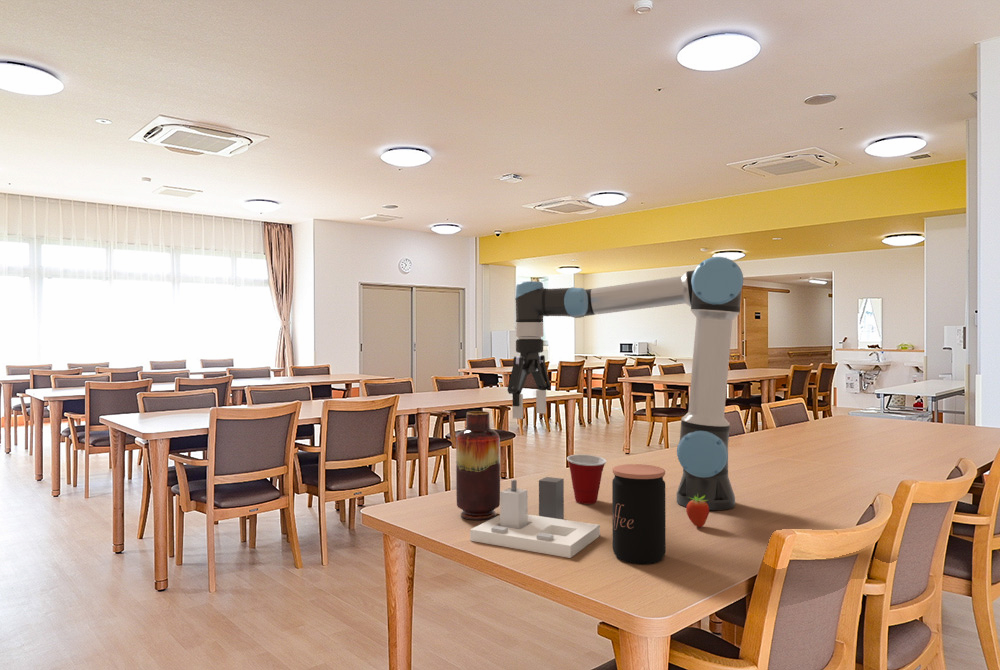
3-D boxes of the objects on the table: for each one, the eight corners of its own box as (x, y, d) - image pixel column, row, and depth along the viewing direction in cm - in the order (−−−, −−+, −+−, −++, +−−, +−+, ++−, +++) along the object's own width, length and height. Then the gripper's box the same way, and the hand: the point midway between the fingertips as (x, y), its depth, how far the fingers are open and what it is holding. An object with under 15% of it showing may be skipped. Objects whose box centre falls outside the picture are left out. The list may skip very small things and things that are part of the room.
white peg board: (599, 535, 150) (599, 481, 150) (570, 558, 135) (570, 497, 135) (506, 521, 162) (506, 470, 162) (470, 540, 147) (470, 484, 147)
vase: (467, 523, 160) (467, 416, 160) (449, 513, 170) (449, 411, 170) (507, 517, 165) (507, 413, 165) (488, 507, 175) (487, 409, 175)
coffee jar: (606, 549, 141) (606, 464, 141) (655, 547, 142) (655, 463, 142) (620, 566, 130) (620, 475, 130) (673, 564, 131) (672, 474, 131)
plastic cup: (586, 508, 173) (586, 463, 173) (558, 500, 182) (558, 457, 182) (615, 502, 180) (614, 458, 180) (587, 494, 188) (586, 452, 188)
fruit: (705, 531, 153) (705, 497, 153) (683, 528, 156) (683, 494, 156) (711, 525, 157) (711, 492, 157) (690, 522, 160) (690, 489, 160)
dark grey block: (563, 519, 164) (563, 478, 164) (556, 523, 160) (556, 482, 160) (546, 516, 166) (546, 476, 166) (538, 521, 162) (538, 480, 162)
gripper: (538, 338, 193) (538, 410, 193) (494, 338, 172) (494, 420, 172) (561, 337, 190) (561, 411, 190) (519, 338, 168) (519, 421, 168)
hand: (529, 415), depth 181 cm, fingers open, 13 cm apart
